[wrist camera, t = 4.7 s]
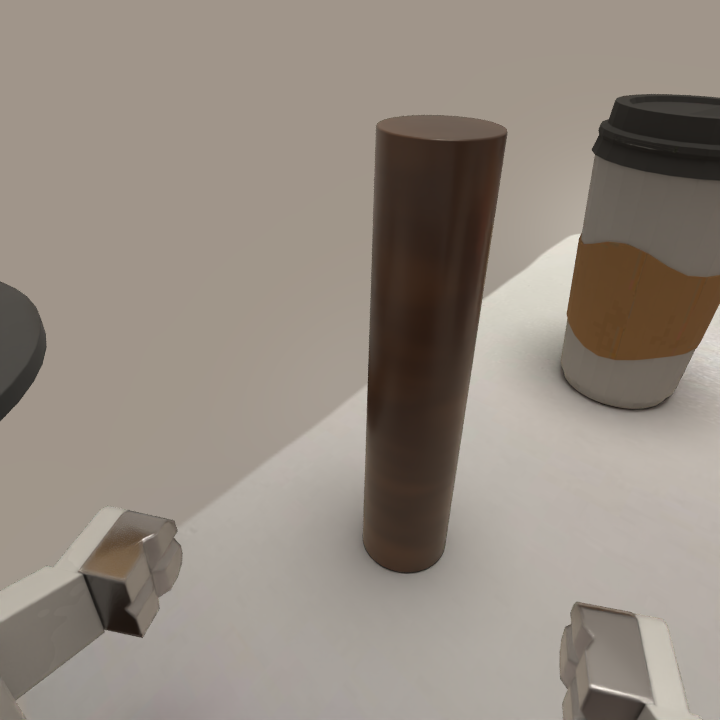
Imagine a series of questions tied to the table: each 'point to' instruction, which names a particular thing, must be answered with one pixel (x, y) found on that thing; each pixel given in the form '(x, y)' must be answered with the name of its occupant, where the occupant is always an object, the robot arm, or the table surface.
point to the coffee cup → (646, 250)
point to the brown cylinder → (424, 323)
